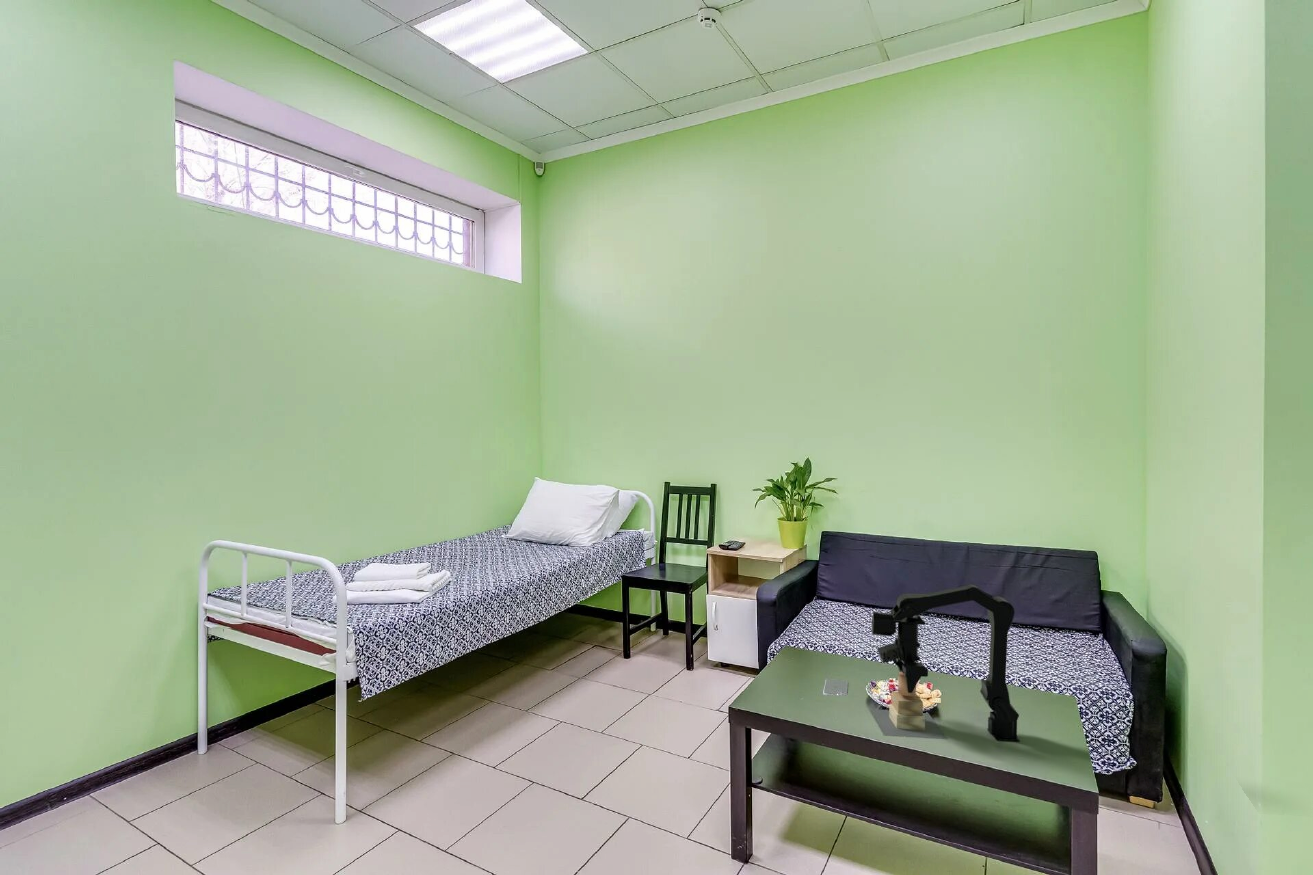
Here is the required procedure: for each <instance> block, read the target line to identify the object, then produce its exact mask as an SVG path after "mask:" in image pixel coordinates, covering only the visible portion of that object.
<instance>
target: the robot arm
mask: <svg viewBox="0 0 1313 875" xmlns="http://www.w3.org/2000/svg"><path fill="white" fill-rule="evenodd" d="M971 601H972V602H975V603H976V604H978V605H980V606H982V607H983V608H984V609H987V617H988V621H989V624H990V642H989V661H988V662H989V664H988V675H987V678H986V679H983V678H981V679H980V683H981V688H980V690H979V692H980V694H981V695H982V697H983V700H984V702H985V703H986V704H987V705H988V707H989V708H990V709H991V711H990V712H989V716H988V718H987V728H986V729H987V730H986V731H987V732H988V733H989V734H990V735H991V736H992V737H993V738H994V740H997V741H1007V742H1009V741H1010V742H1020V741H1021V740H1020V738H1019V737H1018V719H1019V716H1020V714H1019V713H1018V711H1017V710H1016V709H1015V707H1013V705H1012V704H1011V699H1010V692H1009V689H1008V686H1007V681H1006V679H1007V678H1006V675H1007V653H1008V652H1007V651H1008V636H1009V635H1008V634H1009V631H1010V629H1011V626H1012V625H1013V621H1014V617H1015V607H1014V606H1013V605H1012V603H1010V602H1008V601H1007V600H1006V599H1005V598H1004V597H1002V596H996V595H995V596H993V595H991V594H990V593H988V592H986V591H984V590H982V589H981V588H979V587H977V585H975V584H967V585H965V586H964V585H963V586H960V587H955V588H950V589H945V590H940V591H936V592H931V593H930V592H929V593H910V592H909V593H903V594H900V595H899V596H898V598H897V600H896V604H895V605H894V606H893V608H892V609H891V610H890V611H889V613H888V612H879V611H872V620H871V635H874V636H885V637H892V636H894V635H895V634H896V633H897V637H895V638H894V643H891V644H885V645H882V646H879V647H878V648H876V649H877V653H878V655H879V658H880V660H881V661H882V662H883V663H884V664H885V663H889V662H890V661H892V662H893V663H894V664H895V665H896V667H897V669H898V671H899V672H902V673H903V674H904V675H905V677H906V684H907V690H908V693H912V692H913V690H914V688H915V687H916V688H917V685H918V683H919V681H920V680H921V678H922V677H925V678H926V677H928V676H929V669H927V667H926V665H924V664H923V663H922V662H920V661H921V657H920V656H919V648H920V647H921V642H919V625H921V626H922V625H923V626H925V625H926V622H925V620H924V619H923V618H922V617H921V615H922V614H924V613H925V612H927V611H929V610H932V609H935V608H941V607H946V606H950V605H955V604H960V603H966V602H967V603H968V602H971ZM899 672H898V673H899Z"/></svg>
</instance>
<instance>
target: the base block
mask: <svg viewBox="0 0 1313 875" xmlns="http://www.w3.org/2000/svg"><path fill="white" fill-rule="evenodd" d="M888 708H889V709H888V710H889V717H890V719H891V720H892V722H893V723H894V725H895V726H896V728H897V729H914V730H925V716H924V715H923V716H920V715H902V714H898V713H897V712H896V710H895V709H894V707H893V706H892V703H889V707H888Z"/></svg>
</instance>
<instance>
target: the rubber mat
mask: <svg viewBox="0 0 1313 875" xmlns="http://www.w3.org/2000/svg"><path fill="white" fill-rule="evenodd" d="M868 711H869V712H870V713H871V716H872V718H873V719H874V721H875V723H876V724H877V727H878V728H879V729H880V732H881V733H882V735H883V736H887V737H889V736H890V737H902V736H903V738H904V736H905V737H906V738H917V739H918V738H920V739H921V738H922V739H934V740H935V739H937V740H939V739H940V740H949V738H948V736H947V735H946V734H945V733H944V731H943V730H942V729H941V727H940V726H939V725H938V724H937V722H936V721H935V719H933V717H932V716H931V715H930V714H929V712H927V711H926V713H923V715H924V716H925V730H914V729H897V728H896V726H895V725H894V723H893V722H892V720H891V719H890V717H889V709H874V708H869V709H868Z"/></svg>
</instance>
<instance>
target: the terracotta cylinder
mask: <svg viewBox="0 0 1313 875" xmlns="http://www.w3.org/2000/svg"><path fill="white" fill-rule="evenodd" d="M897 676H898V679H897V683H898V684H897V692H899V693H900V694H902V695H905V696H915V695H916V694H917V686H916V687H915V688H914V690H913V692H912V693H908V690H907V684H906V677H905V675H904V674H903V673H902V672H898V675H897Z"/></svg>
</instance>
